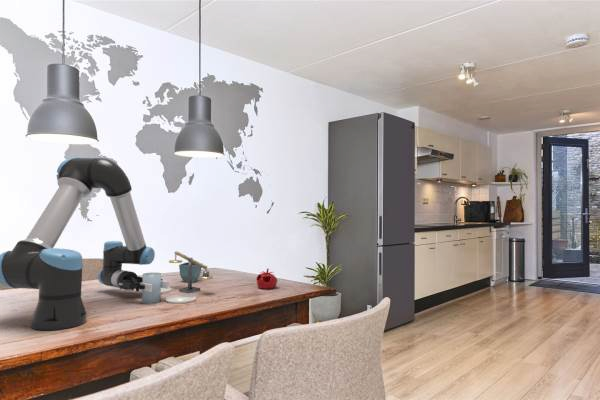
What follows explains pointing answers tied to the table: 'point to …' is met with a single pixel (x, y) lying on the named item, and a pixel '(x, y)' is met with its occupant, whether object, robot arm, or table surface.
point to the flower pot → (184, 272)
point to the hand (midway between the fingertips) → (159, 286)
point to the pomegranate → (266, 280)
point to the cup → (156, 288)
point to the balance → (190, 262)
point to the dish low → (180, 299)
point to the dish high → (165, 290)
